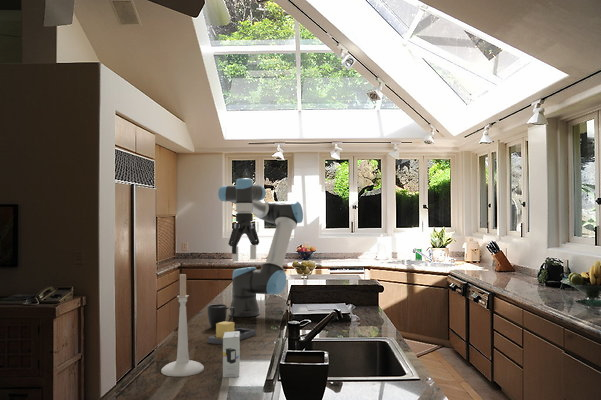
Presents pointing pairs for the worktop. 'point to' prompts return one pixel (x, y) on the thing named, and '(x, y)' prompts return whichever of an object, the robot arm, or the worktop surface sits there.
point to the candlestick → (182, 342)
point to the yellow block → (224, 328)
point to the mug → (218, 314)
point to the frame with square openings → (243, 332)
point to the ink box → (231, 354)
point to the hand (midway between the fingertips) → (244, 260)
